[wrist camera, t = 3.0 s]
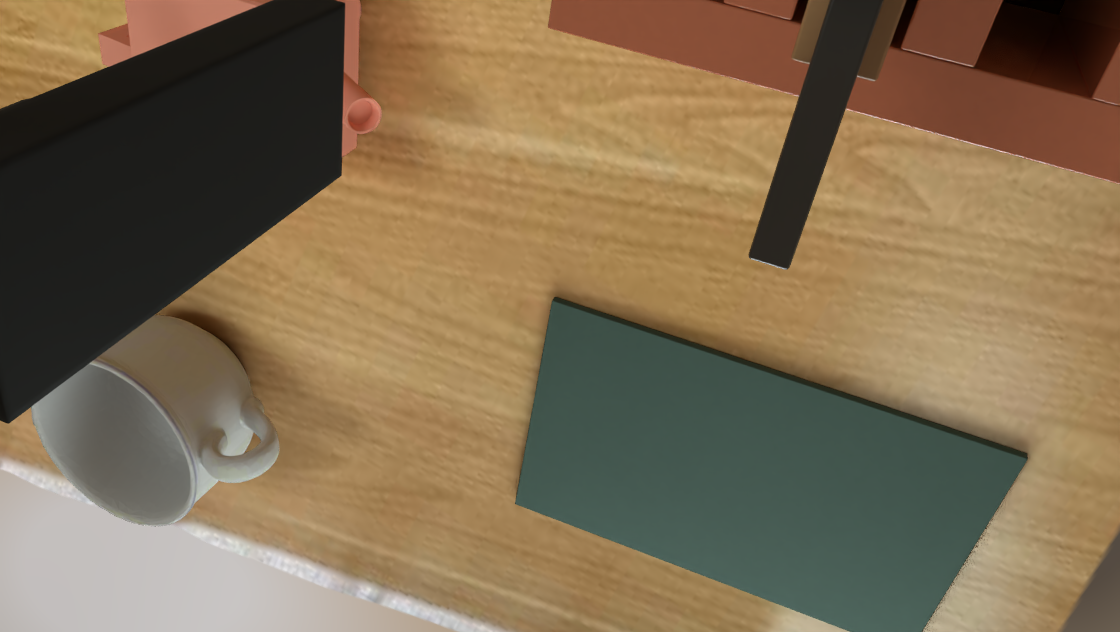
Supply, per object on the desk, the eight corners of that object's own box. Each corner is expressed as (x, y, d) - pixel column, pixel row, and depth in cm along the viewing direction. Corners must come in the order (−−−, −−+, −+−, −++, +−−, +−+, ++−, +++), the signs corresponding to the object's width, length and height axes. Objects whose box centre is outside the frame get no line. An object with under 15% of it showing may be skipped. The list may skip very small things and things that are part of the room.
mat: (1027, 453, 40) (1028, 459, 40) (908, 648, 48) (908, 654, 48) (554, 296, 44) (551, 300, 44) (517, 499, 52) (514, 504, 52)
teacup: (135, 404, 60) (38, 484, 54) (117, 263, 54) (5, 336, 47) (326, 481, 57) (249, 575, 51) (331, 343, 51) (243, 431, 45)
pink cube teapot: (431, 157, 43) (336, 236, 36) (207, 91, 45) (81, 152, 39) (443, -14, 38) (338, 39, 32) (194, -78, 41) (49, -41, 34)
